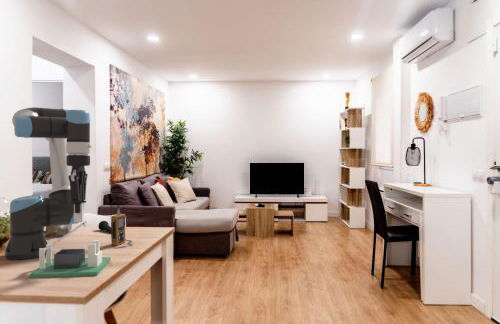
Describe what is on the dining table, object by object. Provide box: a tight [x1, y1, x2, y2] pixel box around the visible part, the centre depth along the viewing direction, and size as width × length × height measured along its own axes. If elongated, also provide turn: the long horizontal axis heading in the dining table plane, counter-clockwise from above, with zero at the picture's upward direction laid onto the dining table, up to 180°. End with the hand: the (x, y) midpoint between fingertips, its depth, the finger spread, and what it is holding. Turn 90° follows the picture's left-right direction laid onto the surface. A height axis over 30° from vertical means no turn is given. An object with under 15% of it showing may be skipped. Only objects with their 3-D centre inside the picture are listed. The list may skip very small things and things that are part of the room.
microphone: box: [97, 220, 111, 234], centre depth 194 cm, size 5×5×19 cm
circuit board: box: [29, 239, 111, 279], centre depth 132 cm, size 21×18×9 cm
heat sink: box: [53, 248, 86, 269], centre depth 132 cm, size 8×8×5 cm
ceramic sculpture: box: [44, 224, 73, 239], centre depth 184 cm, size 11×9×15 cm
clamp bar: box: [45, 220, 89, 252], centre depth 132 cm, size 17×4×2 cm
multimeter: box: [110, 198, 135, 249], centre depth 168 cm, size 15×10×20 cm
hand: (78, 221), depth 132 cm, fingers closed
